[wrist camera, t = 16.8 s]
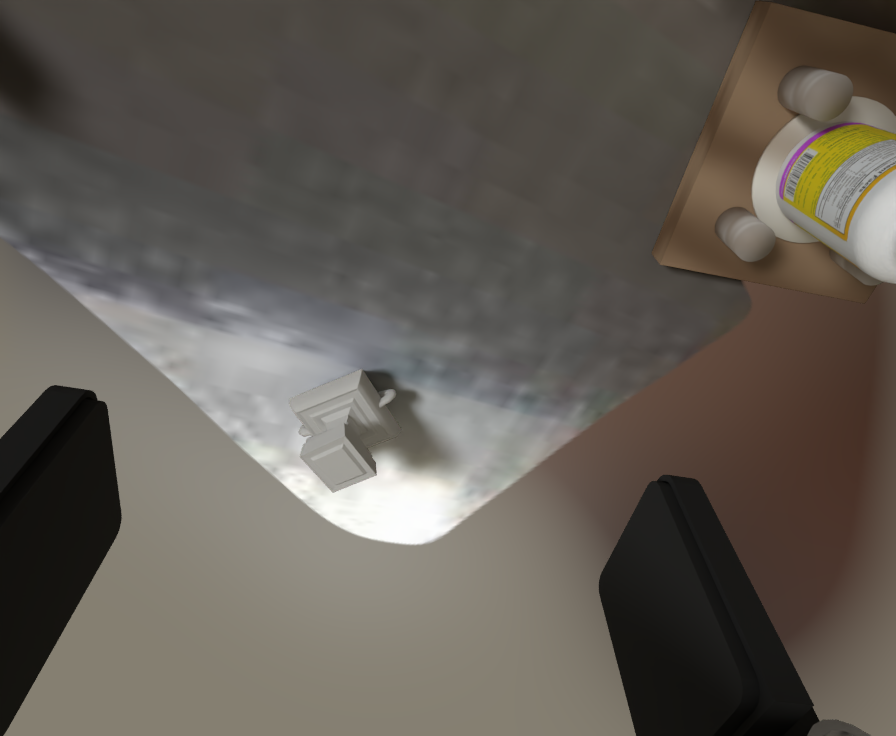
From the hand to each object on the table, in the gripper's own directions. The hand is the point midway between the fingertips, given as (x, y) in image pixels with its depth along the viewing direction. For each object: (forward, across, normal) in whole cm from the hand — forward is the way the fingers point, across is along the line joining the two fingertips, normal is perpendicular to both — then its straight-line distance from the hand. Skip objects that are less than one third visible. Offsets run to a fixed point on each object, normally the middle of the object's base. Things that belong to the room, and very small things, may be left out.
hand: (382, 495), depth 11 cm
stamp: (+34, +2, +23) cm, 41 cm away
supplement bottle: (+31, -26, -2) cm, 41 cm away
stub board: (+33, -26, -2) cm, 42 cm away
